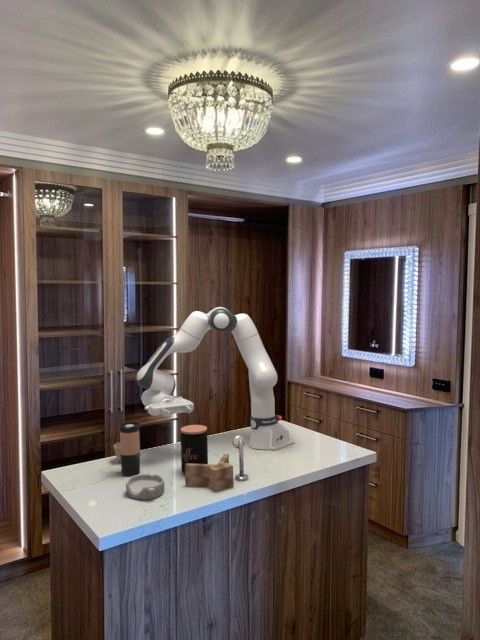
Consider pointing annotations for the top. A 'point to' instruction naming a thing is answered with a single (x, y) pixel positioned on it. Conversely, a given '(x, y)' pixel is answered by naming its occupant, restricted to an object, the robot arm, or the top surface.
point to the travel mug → (130, 448)
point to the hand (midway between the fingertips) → (180, 412)
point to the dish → (145, 486)
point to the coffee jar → (194, 445)
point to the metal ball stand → (240, 457)
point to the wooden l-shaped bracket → (210, 475)
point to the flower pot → (117, 451)
